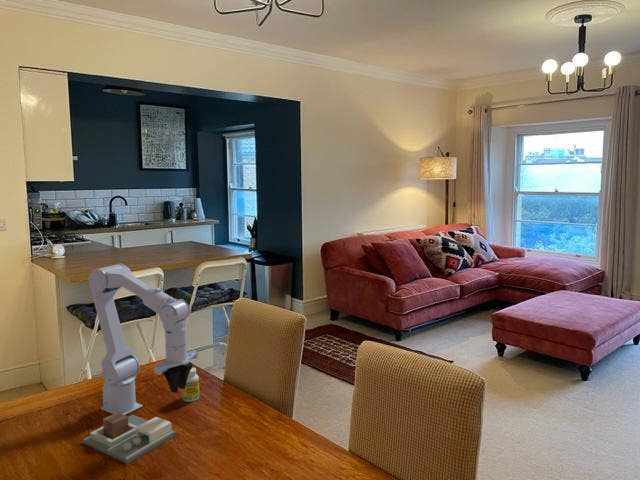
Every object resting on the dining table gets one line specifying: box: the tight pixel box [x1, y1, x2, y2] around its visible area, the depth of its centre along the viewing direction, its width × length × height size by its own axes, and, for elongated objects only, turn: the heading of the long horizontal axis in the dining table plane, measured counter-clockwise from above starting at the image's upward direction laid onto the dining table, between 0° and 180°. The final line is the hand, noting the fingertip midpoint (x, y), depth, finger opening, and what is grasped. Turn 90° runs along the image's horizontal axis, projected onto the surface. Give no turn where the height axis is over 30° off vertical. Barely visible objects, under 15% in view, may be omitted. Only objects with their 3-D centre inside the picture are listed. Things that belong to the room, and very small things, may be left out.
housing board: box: [82, 414, 177, 465], centre depth 136 cm, size 18×16×2 cm
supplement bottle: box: [181, 367, 200, 403], centre depth 160 cm, size 5×5×10 cm
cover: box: [135, 416, 173, 443], centre depth 136 cm, size 6×7×3 cm
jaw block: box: [102, 412, 129, 440], centre depth 136 cm, size 4×4×6 cm
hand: (177, 389), depth 143 cm, fingers open, 2 cm apart
